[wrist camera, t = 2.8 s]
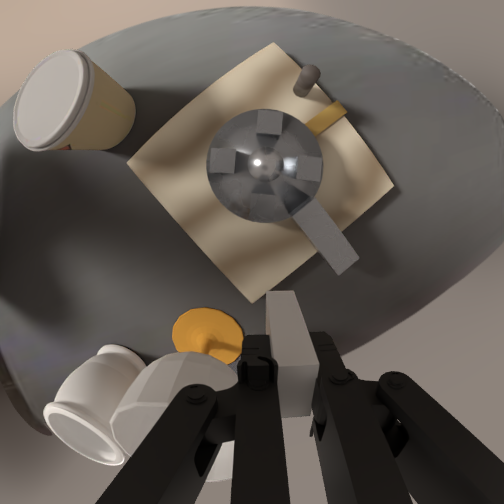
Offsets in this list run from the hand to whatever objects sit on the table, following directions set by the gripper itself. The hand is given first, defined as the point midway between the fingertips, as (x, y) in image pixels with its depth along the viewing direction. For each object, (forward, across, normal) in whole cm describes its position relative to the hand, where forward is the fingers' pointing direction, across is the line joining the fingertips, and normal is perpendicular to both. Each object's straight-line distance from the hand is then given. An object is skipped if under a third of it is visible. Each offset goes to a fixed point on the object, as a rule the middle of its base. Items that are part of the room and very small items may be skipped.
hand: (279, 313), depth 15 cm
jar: (+15, -20, -17) cm, 31 cm away
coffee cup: (+15, -18, +16) cm, 28 cm away
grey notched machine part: (+13, +2, +6) cm, 14 cm away
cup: (+15, -7, -11) cm, 20 cm away
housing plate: (+15, 0, +9) cm, 17 cm away
